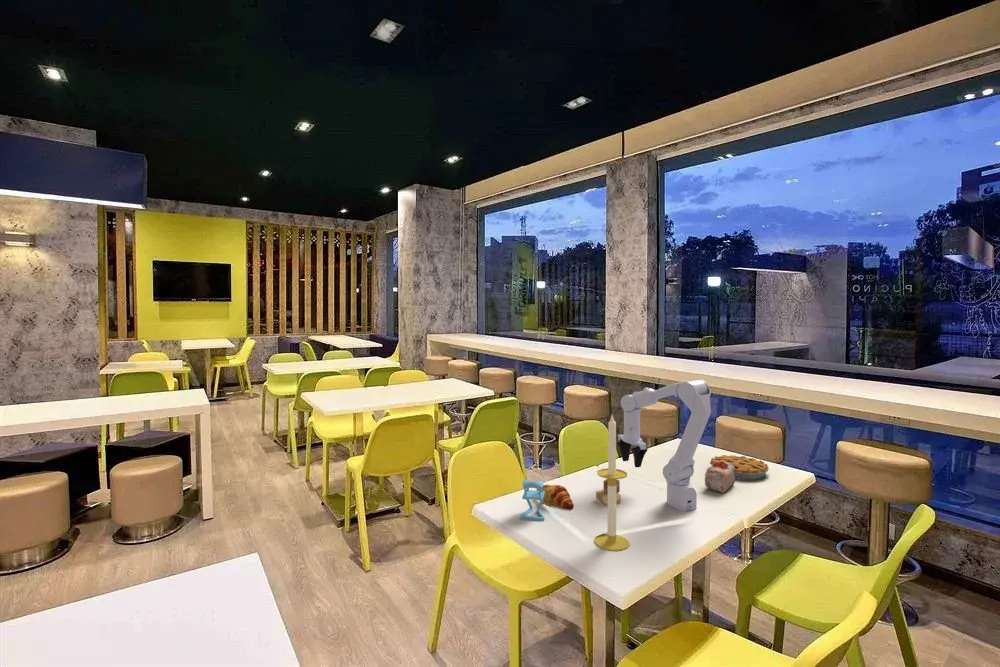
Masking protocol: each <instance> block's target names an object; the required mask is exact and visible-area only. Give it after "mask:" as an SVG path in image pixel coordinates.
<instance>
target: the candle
mask: <svg viewBox="0 0 1000 667" xmlns="http://www.w3.org/2000/svg"><path fill="white" fill-rule="evenodd" d="M607 430H608V431H607V432H608V433H607V434H608V443H607V444H608V445H607V446H608V448H607V449H608V450H607V452H608V453H607V454H608V460H607V461H608V462H607V463H608V465H607V466H608V468H602V469H598V470H597V471H596V474H597V476H599V477H601V478H603V479H608V507H607V533H604V534H599V535H597V536H596V537H595V538H594V540H593V541H594V544H595V546H597V547H598V548H600V549H602V550H606V551H610V552H611V551H612V552H618V551H620V552H621V551H625V550H627V549H628V548H629V547H630V541H629V540H628V539H627V538H626V537H623V536H622V535H618V534H617V505H616V480H623V479H626V478H627V477H628V472H627V471H625V470H622V469H619V468H617V422H616V421H615V419H614V416H613V415H611V416H610V419H609V421H608V429H607Z"/></svg>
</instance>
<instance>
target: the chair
mask: <svg viewBox="0 0 1000 667" xmlns="http://www.w3.org/2000/svg"><path fill="white" fill-rule="evenodd" d="M543 485H545V481H544V480H540V481H533V480H531V481H529V480H528V479H524V480H523V481H522V488H523V492H524V493H523V495H522V500H526V502H527V505H528V507H529V508H528V509H527V510H526V511H524V512H523V513H521V515H519V516H520V517H519V519H520V520H525V521H527V520H529V521H539V522H544V521H545V516H544V514H543V512H542V510H541V508H542V504H543V503H542V502H543V498H544V494H545V491H543ZM533 489H536V490H533ZM537 489H539V491H537ZM531 500H534V501H539V503H538V506H537V508H536V509H537V513H538V515H539V516H532V515H531V516H530V515H529V514H531V513H532V512H533V511H534V507H533V505H532V503H531ZM528 515H529V516H528Z"/></svg>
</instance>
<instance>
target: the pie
mask: <svg viewBox="0 0 1000 667" xmlns="http://www.w3.org/2000/svg"><path fill="white" fill-rule="evenodd" d="M714 461H715V462H717V463H718V462H727V463H730V464H732V465H733V466H735V467H734V468H735V480H745V481H754V480H760V479H762V478H764V476H765V475H766V473H768V471H769V469H770V468H769V466H768V464H767V463H765V462H764V461H762V460H757V459H756V458H752V457H751V458H749V457H746V456H744V455H742V456H737V455H731V454H730V455H726V454H724V455H723V454H721V456H718V455H717V456H716V455H715V456H714V457H711V460H710V461H709V464H710V465H711V468H712V467H713V466H714Z"/></svg>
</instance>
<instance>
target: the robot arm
mask: <svg viewBox="0 0 1000 667" xmlns="http://www.w3.org/2000/svg"><path fill="white" fill-rule="evenodd" d="M711 395H712V390H711V387H710V385H709V384H708V383H707V382H706V381H705V380H703V379H700V378H699V379H695V380H688V381H680V382H675V383H671V384H669V385H666V386H663V387H661V388H658V389H653V388H651V387H644V388H642V390H641V391H634V392H632V394H626V395H625V394H624V396H622V398H621V400H620V407H621V408H622V410H623V434H618V435H617V437H618V441H616V446H617V447H618V449H619V451H620V454H621V459H622V462H629V460H630V451H632V456H633V459H634V460H633V463H634V468H641V467H642V464H643V461H644V457H645V455H646V453H647V452H648V448H647V443H645V442H644V441H643V438H641V413H642V412H641V410H642V408H647V407H650V406H652V405H657V403H658V401H659V400H660V399H662V398H666V397H670V396H671V397H672V396H674V397H676V398H679V399H680V400H681V401H682V402H683V403H684V404H685V406H686V407H687V408H688V409H689V411H690V412H691V414H690V416H689V418H688V421H687V424H686V426H685V429H684V432H683V434H682V436H681V439H680V441H679V444H678V447H677V449H676V452H675V453H674V455H673V456H671V458H670V459H669V461H668V463H667V464H665V465H664V466H663V469H662V475H663V477H664V479H665V482H666V504H667V506H670V507H672V508H675V509H678V510H679V511H681V512H684V511H685V512H686V511H687V512H688V511H692V510H697V501H698V500H697V497H698V496H697V490H696V489H695V488H694V487H693V486H692V485H691V483H690V482H691V477H693V475H694V472H695V468H694V466H695V462H696V460H694V455H695V453H696V451H697V448H698V445H699V443H700V441H701V438H702V436H703V433H704V432H705V429H706V426H707V424H708V422H709V418H710V416H711V414H712V407H711V406H712V405H711ZM631 446H634V447H631Z"/></svg>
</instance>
